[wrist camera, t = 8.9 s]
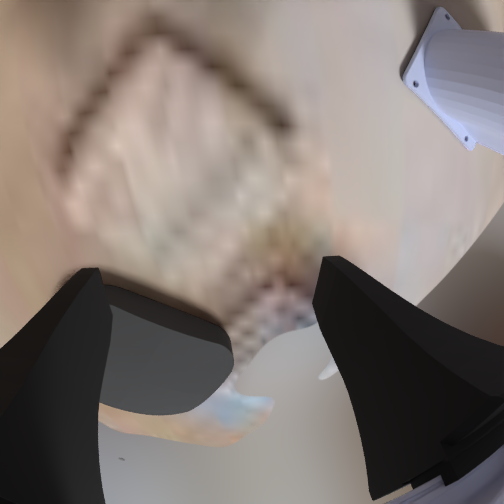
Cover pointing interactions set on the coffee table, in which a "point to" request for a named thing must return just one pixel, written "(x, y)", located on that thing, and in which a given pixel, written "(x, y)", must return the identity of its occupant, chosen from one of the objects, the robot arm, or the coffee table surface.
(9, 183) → the coffee table surface
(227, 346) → the media streaming box
